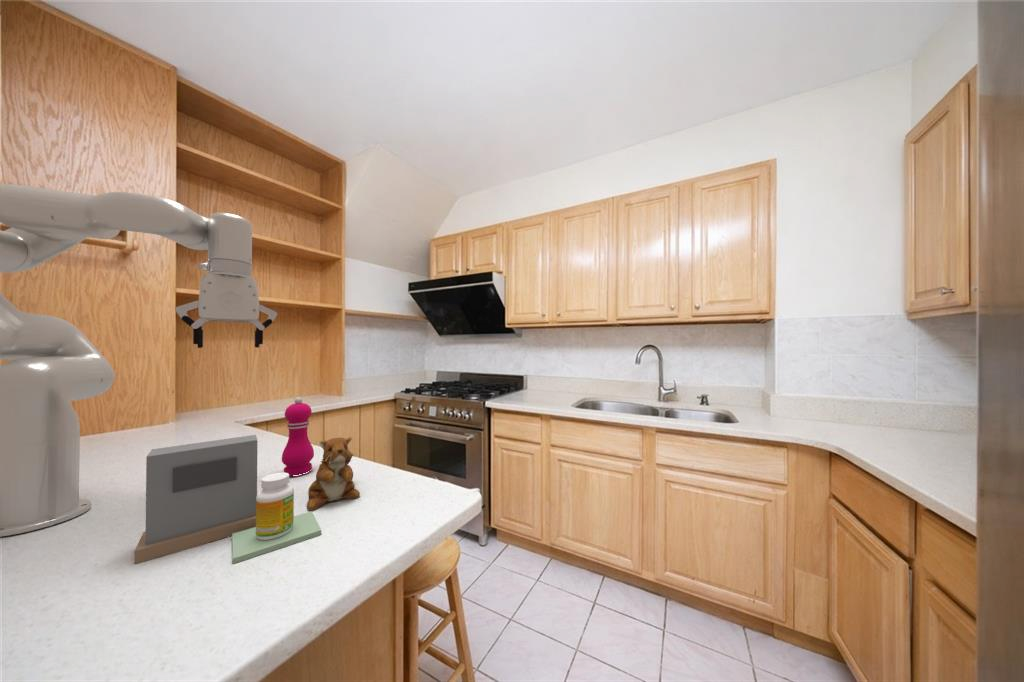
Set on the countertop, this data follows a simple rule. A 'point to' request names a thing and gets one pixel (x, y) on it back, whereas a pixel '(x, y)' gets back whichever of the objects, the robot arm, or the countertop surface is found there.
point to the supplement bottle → (274, 507)
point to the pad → (251, 546)
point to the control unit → (198, 495)
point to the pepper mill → (298, 439)
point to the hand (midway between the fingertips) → (229, 347)
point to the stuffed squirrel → (333, 474)
